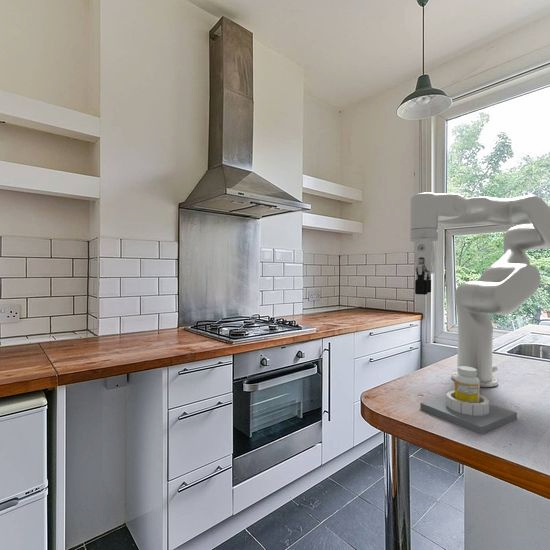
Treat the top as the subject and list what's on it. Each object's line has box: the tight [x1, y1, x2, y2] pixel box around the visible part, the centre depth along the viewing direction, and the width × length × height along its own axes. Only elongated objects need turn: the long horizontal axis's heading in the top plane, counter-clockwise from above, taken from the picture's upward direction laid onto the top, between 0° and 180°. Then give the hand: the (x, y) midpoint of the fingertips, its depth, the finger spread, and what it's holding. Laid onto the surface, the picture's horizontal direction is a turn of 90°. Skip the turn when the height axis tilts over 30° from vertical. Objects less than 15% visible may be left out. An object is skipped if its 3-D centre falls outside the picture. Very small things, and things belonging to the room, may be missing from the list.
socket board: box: [419, 390, 518, 435], centre depth 82 cm, size 15×15×4 cm
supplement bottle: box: [454, 366, 481, 403], centre depth 82 cm, size 5×5×10 cm
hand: (423, 293), depth 99 cm, fingers open, 9 cm apart
